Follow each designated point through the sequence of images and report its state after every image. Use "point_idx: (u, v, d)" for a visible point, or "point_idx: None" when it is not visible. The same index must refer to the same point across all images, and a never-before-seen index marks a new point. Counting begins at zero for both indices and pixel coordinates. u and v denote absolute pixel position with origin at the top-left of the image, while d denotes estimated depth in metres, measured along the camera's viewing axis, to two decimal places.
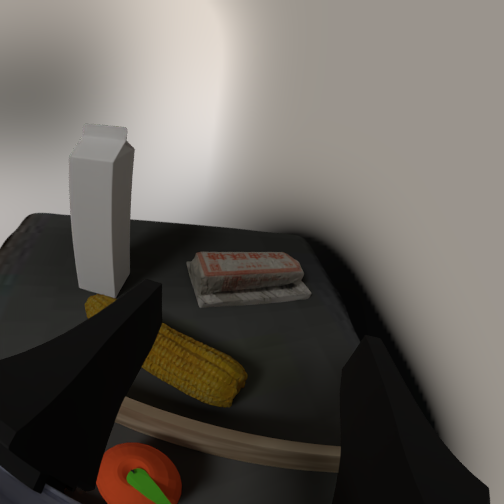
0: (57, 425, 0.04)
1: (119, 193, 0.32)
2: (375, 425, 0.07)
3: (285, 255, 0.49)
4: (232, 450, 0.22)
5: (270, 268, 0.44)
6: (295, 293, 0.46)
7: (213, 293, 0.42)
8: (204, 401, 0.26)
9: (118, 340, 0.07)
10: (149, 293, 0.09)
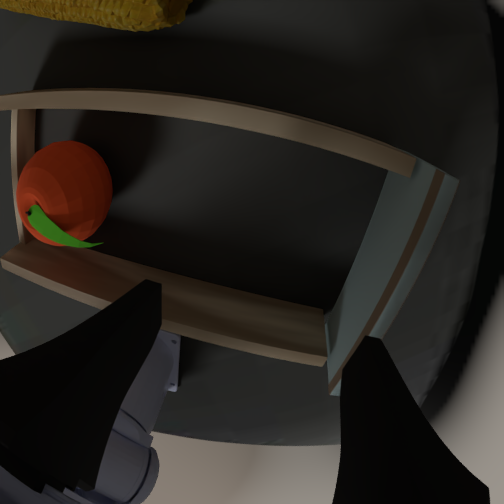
0: (57, 425, 0.04)
1: None
2: (375, 425, 0.07)
3: None
4: None
5: None
6: None
7: None
8: None
9: (118, 340, 0.07)
10: (149, 293, 0.09)
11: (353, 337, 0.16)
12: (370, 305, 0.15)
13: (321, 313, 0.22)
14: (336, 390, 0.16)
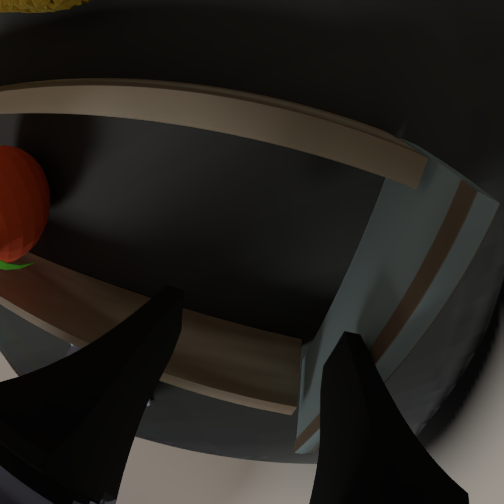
0: (88, 442, 0.04)
1: None
2: (350, 423, 0.07)
3: None
4: None
5: None
6: None
7: None
8: None
9: (144, 350, 0.07)
10: (172, 300, 0.09)
11: None
12: None
13: (299, 345, 0.18)
14: (302, 450, 0.12)
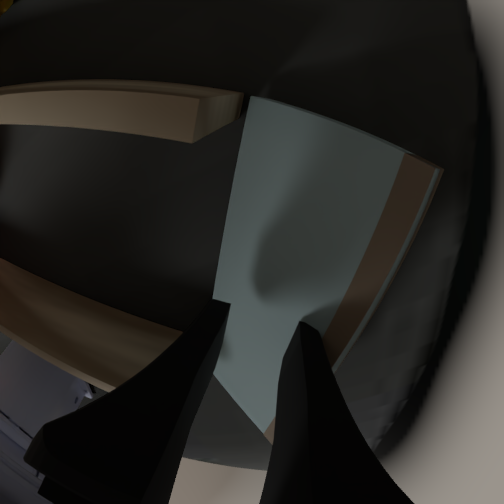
0: (162, 473, 0.04)
1: None
2: (295, 415, 0.07)
3: None
4: None
5: None
6: None
7: None
8: None
9: (202, 369, 0.07)
10: (223, 315, 0.09)
11: (276, 391, 0.12)
12: None
13: None
14: None
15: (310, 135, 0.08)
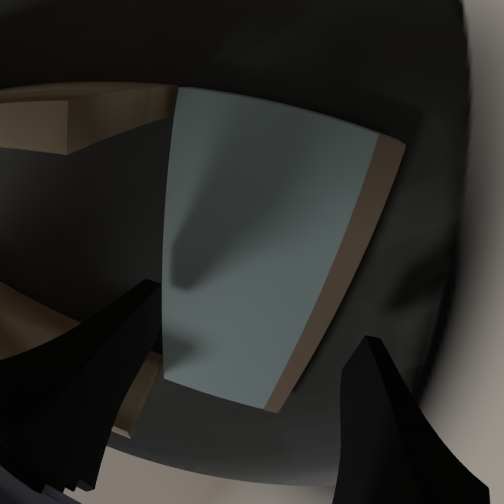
0: (57, 425, 0.04)
1: None
2: (375, 425, 0.07)
3: None
4: None
5: None
6: None
7: None
8: None
9: (118, 340, 0.07)
10: (149, 293, 0.09)
11: (271, 368, 0.12)
12: (281, 334, 0.11)
13: (156, 361, 0.15)
14: None
15: (274, 124, 0.07)
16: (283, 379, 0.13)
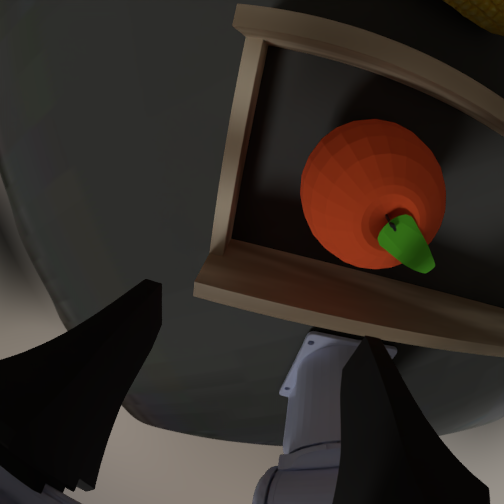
0: (57, 425, 0.04)
1: None
2: (375, 425, 0.07)
3: None
4: None
5: None
6: None
7: None
8: (469, 17, 0.08)
9: (118, 340, 0.07)
10: (149, 293, 0.09)
11: None
12: None
13: None
14: None
15: None
16: None
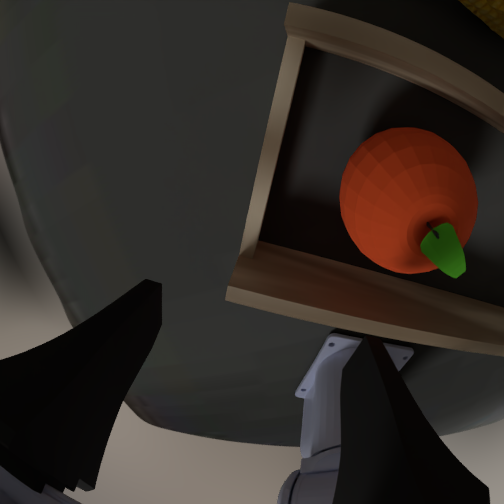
0: (57, 425, 0.04)
1: None
2: (375, 425, 0.07)
3: None
4: None
5: None
6: None
7: None
8: (497, 31, 0.08)
9: (118, 340, 0.07)
10: (149, 293, 0.09)
11: None
12: None
13: None
14: None
15: None
16: None
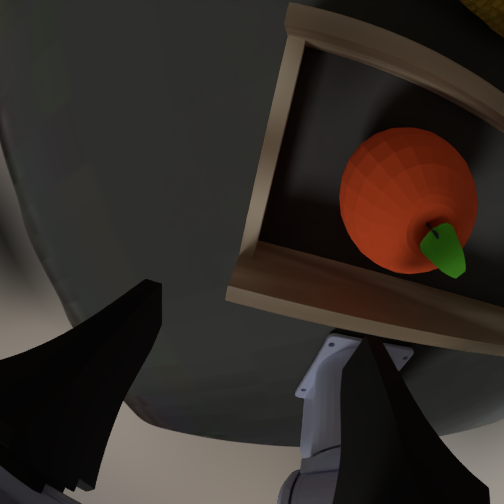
0: (57, 425, 0.04)
1: None
2: (375, 425, 0.07)
3: None
4: None
5: None
6: None
7: None
8: (497, 31, 0.08)
9: (118, 340, 0.07)
10: (149, 293, 0.09)
11: None
12: None
13: None
14: None
15: None
16: None
